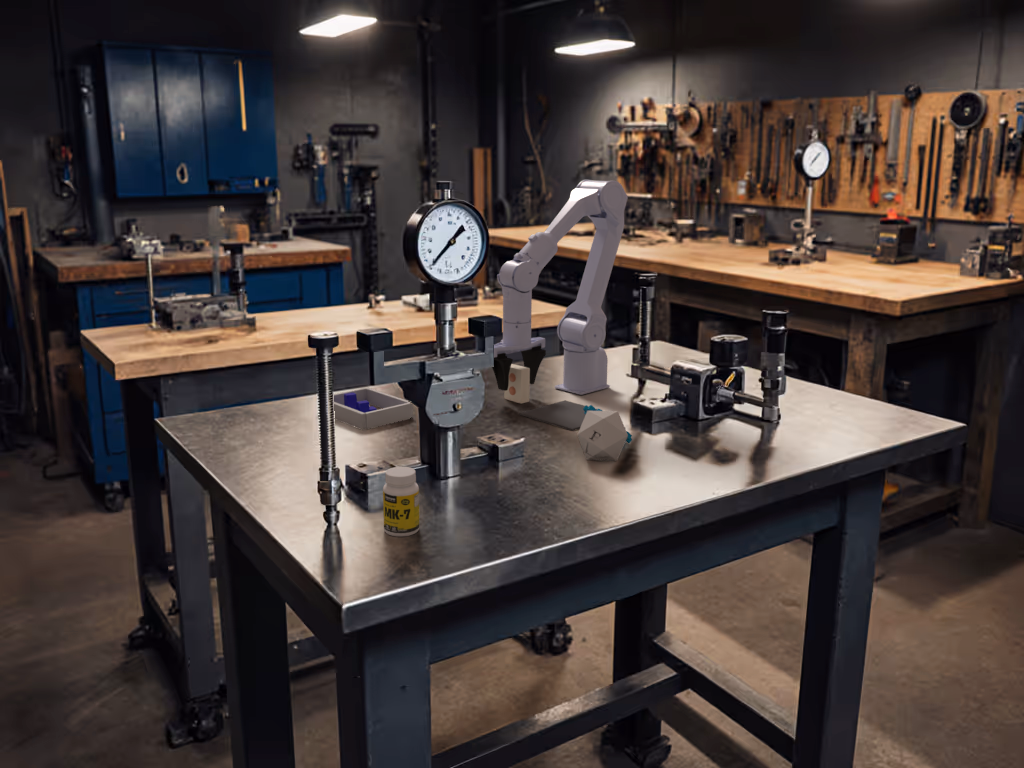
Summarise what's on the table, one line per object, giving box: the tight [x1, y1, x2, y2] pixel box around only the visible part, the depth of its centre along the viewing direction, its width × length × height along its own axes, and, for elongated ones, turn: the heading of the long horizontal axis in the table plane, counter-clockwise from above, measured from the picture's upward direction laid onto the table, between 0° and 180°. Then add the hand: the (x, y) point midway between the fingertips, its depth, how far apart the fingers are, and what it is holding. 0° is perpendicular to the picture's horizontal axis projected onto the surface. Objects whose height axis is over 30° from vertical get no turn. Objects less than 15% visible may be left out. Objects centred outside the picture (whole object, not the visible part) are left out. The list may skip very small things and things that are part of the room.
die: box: [577, 410, 628, 462], centre depth 146 cm, size 8×9×10 cm
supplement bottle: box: [382, 466, 420, 537], centre depth 117 cm, size 5×5×8 cm
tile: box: [503, 363, 531, 404], centre depth 180 cm, size 3×5×7 cm, turn 43°
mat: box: [518, 400, 598, 432], centre depth 170 cm, size 13×14×1 cm
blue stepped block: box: [344, 392, 378, 413], centre depth 169 cm, size 8×4×4 cm, turn 31°
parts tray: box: [333, 387, 414, 431], centre depth 169 cm, size 12×16×3 cm
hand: (516, 386), depth 180 cm, fingers open, 7 cm apart
